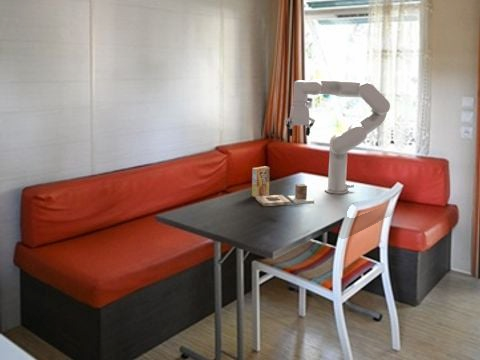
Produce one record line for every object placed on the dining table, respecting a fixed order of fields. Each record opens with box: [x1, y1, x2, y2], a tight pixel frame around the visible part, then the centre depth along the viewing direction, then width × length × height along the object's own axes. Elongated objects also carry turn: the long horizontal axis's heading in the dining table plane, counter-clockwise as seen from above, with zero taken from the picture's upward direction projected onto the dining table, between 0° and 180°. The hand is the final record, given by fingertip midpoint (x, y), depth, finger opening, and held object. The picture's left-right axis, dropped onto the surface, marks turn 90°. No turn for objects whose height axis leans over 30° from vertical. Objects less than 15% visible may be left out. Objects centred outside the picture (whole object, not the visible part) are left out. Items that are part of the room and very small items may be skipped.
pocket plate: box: [255, 194, 292, 207], centre depth 276 cm, size 14×14×2 cm
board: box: [287, 194, 315, 205], centre depth 280 cm, size 10×12×1 cm
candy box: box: [251, 165, 271, 198], centre depth 286 cm, size 9×4×15 cm, turn 129°
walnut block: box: [294, 183, 308, 200], centre depth 279 cm, size 4×4×7 cm
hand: (299, 135), depth 294 cm, fingers open, 9 cm apart
